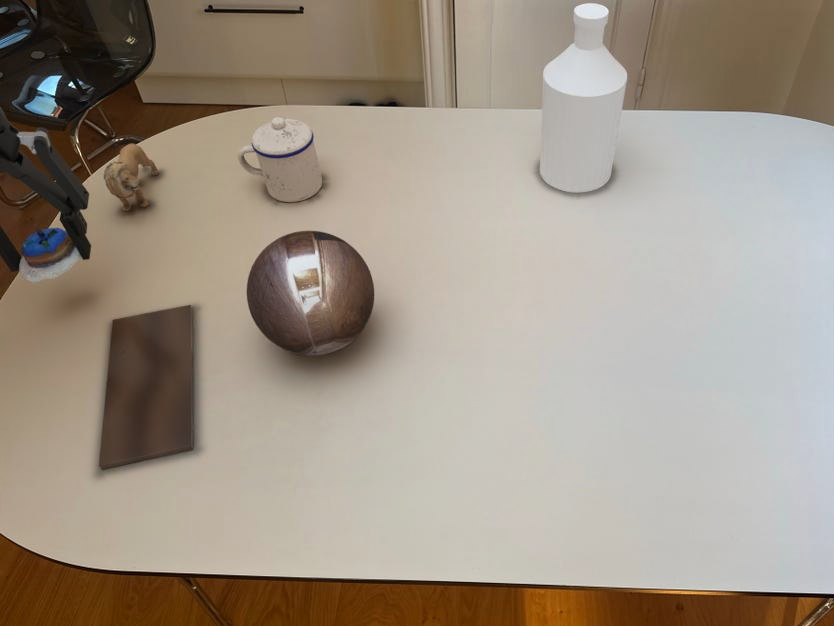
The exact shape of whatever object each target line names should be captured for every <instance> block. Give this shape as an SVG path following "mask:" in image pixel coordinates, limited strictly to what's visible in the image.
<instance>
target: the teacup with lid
mask: <svg viewBox="0 0 834 626" xmlns="http://www.w3.org/2000/svg"><path fill="white" fill-rule="evenodd" d="M314 137H315V136H314V132H313V130H312V129H311V127H310V126H309V125H308V124H307V123H305V122H303V121H301V120H298V119H292V118H283V117H282V116H275V117H274V118H273V117H272V119H271V121H269V122H267V123H264V124H262V125H261V126H259V127H258V128H257V129H256V130H255V132H254V133H253V135H252V137H251V144H249V145H244V146H242V147H241V148H240V149H239V151H238V153H237V158H238V162H239V165H240V166H241V168H243V169H244V171H246V172H248V173H249V174H251V175H253V176H258V177H259V176H260V177H262V178H263V181H264V183H265V187H266V190H267V192H268V194H269V195H270V197H272V198H273V199H275V200H277V201H279V202H284V203H297V202H301V201H304V200H307V199H309V198H311V197H313V196H314V195H316V194H317V193H318V192H319V191H320V190H321V188H322V186H323V177H322V172H321V168H320V164H319V160H318V155H317V151H316V146H315V142H314ZM248 153H255V154H256V157H257V162H258V164H259V168H257V167H255V166H253V165H251V164H250V163H249V162H248V161H247V160H246V158H245V154H248Z"/></svg>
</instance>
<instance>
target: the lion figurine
mask: <svg viewBox="0 0 834 626" xmlns="http://www.w3.org/2000/svg"><path fill="white" fill-rule="evenodd" d="M139 165H141V166H142V168H144V167H148V168H150V169H151V170H150V173H151V175H152V176H158V175H159V173H160V172H159V170H158V168H157V166H156V164H155V162H154V161H153V160H152V159H150V158H149V157H148V156H147V153H145V151H144V150H143V148H142V147H141V146H140V145H138V144H136V143H128V144H126V145H125V146H123V147H122V148H121V149H120V151H119V156H118V159H117V161H113V162H109V164H108V165H106V167H105V169H104V172H103V180H104V182H105V186H106V188H107V189H108V191H109V193H110V194H111V195H112V196H115V197H116V198H117V199H119V200H120V203H122V206H121V209H122V210H123V212H129V211H130V210H131V208H132V207H131V204H130V201H129V200H128V199H130V198H132V197H134V196H136V199H137V202H138V204H139V206H140V207H141V208H146V207H148V206H149V205H150V203H149V202H148V201H147V200H146V198H145V196H144V194H143V190H142V188H141V185H140V181H141V180H140V178H139V169H140V168H139Z"/></svg>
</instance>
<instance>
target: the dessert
mask: <svg viewBox="0 0 834 626" xmlns="http://www.w3.org/2000/svg"><path fill="white" fill-rule="evenodd" d="M21 244H22V245H21V260H20V264H19V271H18V272H19V274H20V276H21V277H23V278H24V279H26V280H27V281H28V282H31V283H34V284H35V283H39V282H40V281H43V280H45V279H47V280H49V279H50V280H54V279H56V278H58V277H59V276H62V275H63V274H65V273H66V272H68V271H69V270H70V269H71V268H72V267H73V266H74V265H75V264H76V263H77V262H78V261H80V259H81V258H82V257H81V255H80V254H79V252H78V250H77V249H76V247H75V245H74V244H73V242H72V240H71V239H70V237H69V235H68V233H67V232H66V230H65V229H62V228H60V227H49V228H44V229H40V228H36V232H34V233H31V234H30V235H29V236H28V237H27V238H26V239H25V240H24V242H22V243H21Z"/></svg>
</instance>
